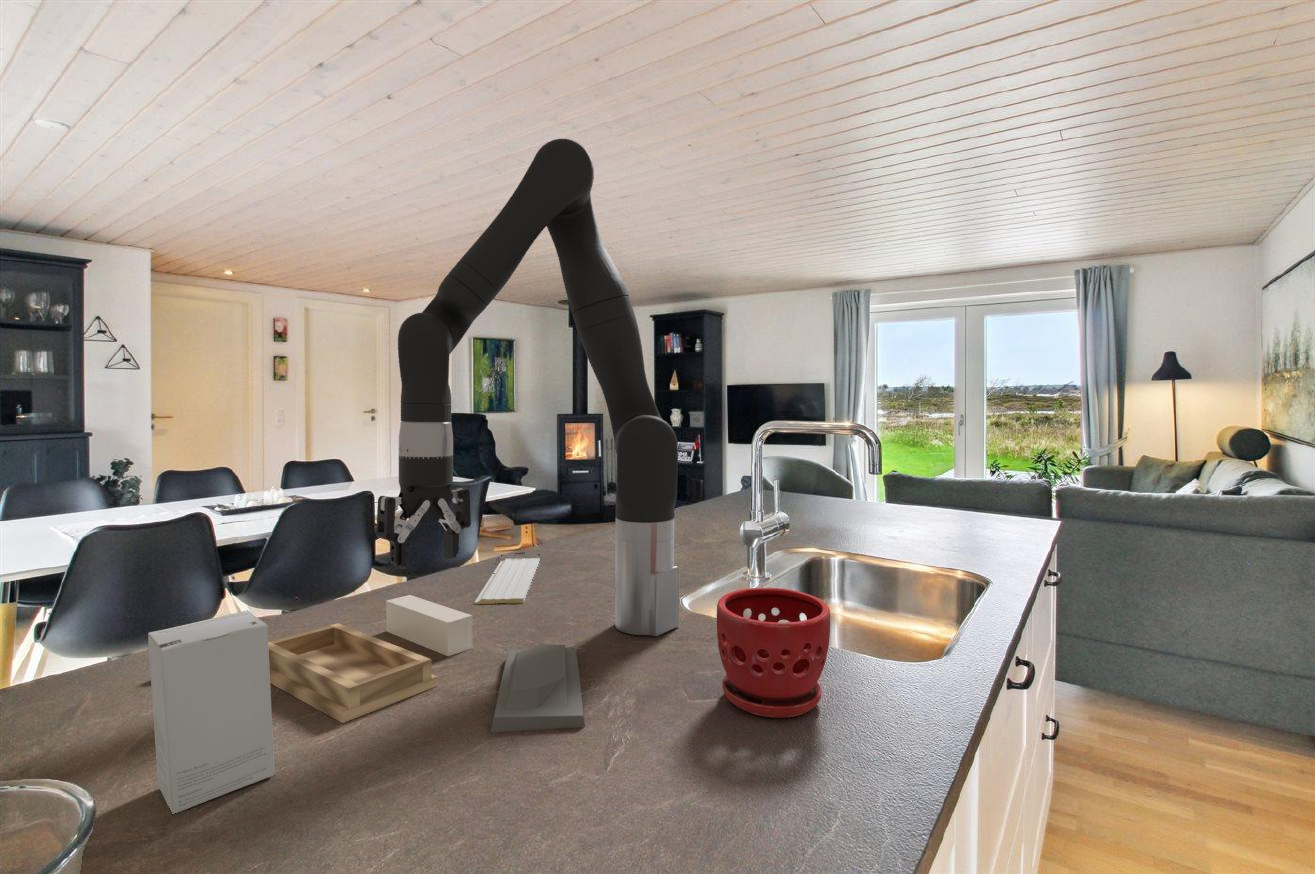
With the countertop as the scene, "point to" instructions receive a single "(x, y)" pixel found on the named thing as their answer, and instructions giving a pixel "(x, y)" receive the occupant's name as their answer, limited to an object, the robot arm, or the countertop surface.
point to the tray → (346, 671)
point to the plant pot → (773, 650)
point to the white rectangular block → (429, 624)
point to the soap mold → (539, 690)
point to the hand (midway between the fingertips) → (425, 562)
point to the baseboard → (509, 581)
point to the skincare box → (211, 707)
